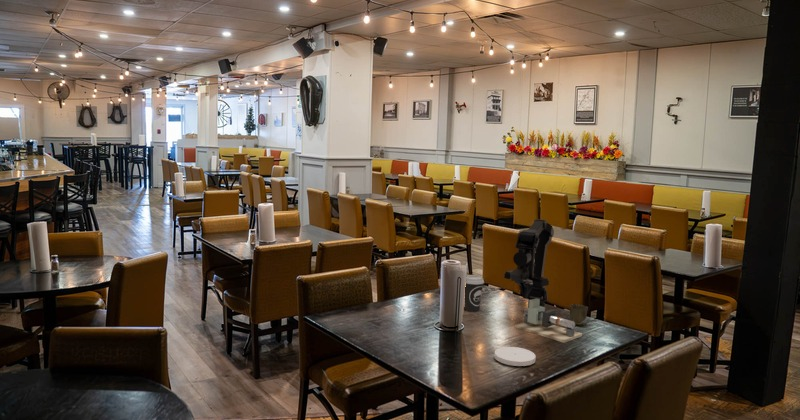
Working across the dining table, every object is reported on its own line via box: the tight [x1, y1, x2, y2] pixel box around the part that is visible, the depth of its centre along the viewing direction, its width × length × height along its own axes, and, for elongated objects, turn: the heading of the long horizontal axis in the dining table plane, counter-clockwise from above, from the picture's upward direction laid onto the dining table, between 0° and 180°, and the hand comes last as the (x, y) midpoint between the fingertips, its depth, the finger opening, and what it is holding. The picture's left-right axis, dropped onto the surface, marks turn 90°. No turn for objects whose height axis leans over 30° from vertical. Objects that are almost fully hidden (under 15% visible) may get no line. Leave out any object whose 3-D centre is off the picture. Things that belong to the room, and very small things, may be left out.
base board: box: [514, 321, 583, 344], centre depth 231 cm, size 23×13×1 cm, turn 42°
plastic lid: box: [493, 346, 537, 367], centre depth 199 cm, size 14×14×2 cm
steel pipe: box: [523, 307, 576, 337], centre depth 230 cm, size 22×3×6 cm, turn 42°
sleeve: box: [527, 298, 546, 324], centre depth 234 cm, size 4×6×9 cm, turn 132°
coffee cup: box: [464, 274, 485, 313], centre depth 257 cm, size 10×10×15 cm
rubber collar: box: [542, 308, 556, 327], centre depth 230 cm, size 2×6×6 cm, turn 132°
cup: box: [569, 303, 589, 327], centre depth 241 cm, size 8×7×8 cm
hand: (524, 298), depth 238 cm, fingers closed
